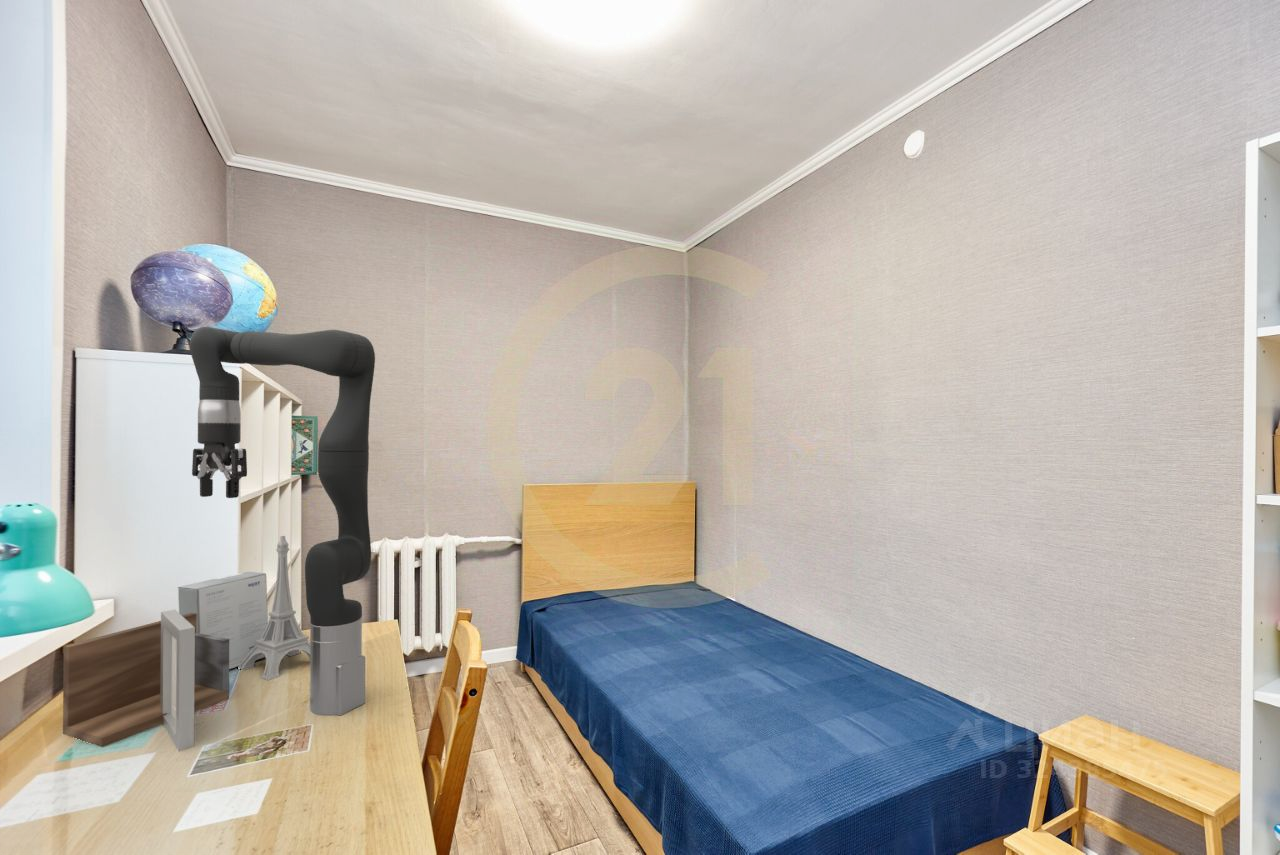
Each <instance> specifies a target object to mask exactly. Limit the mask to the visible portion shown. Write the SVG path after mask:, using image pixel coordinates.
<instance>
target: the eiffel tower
mask: <svg viewBox="0 0 1280 855" xmlns="http://www.w3.org/2000/svg"><path fill="white" fill-rule="evenodd" d="M275 551H276V552H277V571H276V581H275V589H274V597H273V603H272V608H271V612H268V616H269V618H268V624H267V626H266V628H265V630H264V632H263V634H262V636H261V638H260V639H259V640H256V641H255V642H256V645H255V647H254V648H253V649H252V650H251V651H250V653H249V654H248V655H247V656H246V657H245V659H244V660H243V661H242V662H241V663H240V665H239V666H237V667H239V668H240V669H241V670H243V671H246V670H249V669H253V668H254V666H255V665H254V664H255V662H256V661H257V660H256V659H257V658H258V657H259V656H260V655H261V654H264V655H265V657H264V658H265V668H264V672H263V674H262V675H261V677H260V679H262V680H265V681H267V682H268V681H270V680H273V679H276V678H278V677H280V678H281V675H280V674H279V673H280V672H279V669H280V663H281V662H282V659H283V658H284V657H285V656H287V655H288V657H293V656H295V655H298V654H301V653H302V652H304V653H305V654H306V655H307V657H308V658H309V659H310V640H308V639H310V638H309V636H308V635H304V633H303V631H302V629H301V627H300V626H299V623H298V621H297V619H296V616H295V614H297V613H296V612H297V611H296V610H294V609H293V602H292V595H291V590H290V588H291V587H290V580H289V568H288V552H289V551H290V548H289V543H288V542H287V540H286V536H285V535H281V536H280V538H279V541H278V543H277V545H276V549H275ZM301 651H302V652H301ZM255 660H256V661H255ZM308 663H309V664H310V660H309V661H308ZM252 667H253V668H252ZM245 669H246V670H245ZM241 670H240V671H241Z"/></svg>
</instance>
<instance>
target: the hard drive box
mask: <svg viewBox="0 0 1280 855" xmlns="http://www.w3.org/2000/svg"><path fill="white" fill-rule="evenodd" d="M267 586H268V585H267V574H266V573H265V572H256V571H244V572H240V573H235V574H231V575H226V576H220V577H215V578H213V579H212V578H211V579H208V580H207V579H206V580H204V581H199V582H194V583H190V584H185V585H181V586H178V587H177V595H178V596H177V601H178V613H179V614H180V615H185V614H189V613H196V614H197V629H196V633H200V634H205V635H210V636H216V637H221V638H226V639H229V670H231V669H234V668H236V667H238V666H239V665H240V663H241V662H242V661H243V660H244V659H245V657H246V656H247V655H248V654H249V653H250V651H251V650H252V649H253V648H254V647H255V645H256V642H255V641H256V640H259V639H260V638H261V636H262V634H263V632H264V630H265V628H266V626H267V624H268V621H269V617H268V616H269V613H268V595H267V594H268V591H267V588H268V587H267ZM263 658H266V657H265V655H264V654H261V655H260V656H259V657H258V658H257V659H256V660H255V662H256V661H257V660H260V659H263Z"/></svg>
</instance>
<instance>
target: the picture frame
mask: <svg viewBox="0 0 1280 855" xmlns="http://www.w3.org/2000/svg"><path fill="white" fill-rule="evenodd" d="M160 621H161V679H160V711H161V712H162V714H165V713H167V714H166V715H164V716H163V724H162V725H163V727H164V728H165V731H166V732H167V734H168V735H169V737H170V739H171V741H172V742H173V744H174V746H175V748H176V750H177V751H178V752H181V751H184V750H187V749H191V748H194V747H195V712H194V674H195V627H194V626H193V625H191V624H190V623H189V622H188V621H187V620H186V619H185V618H184V617H183V616H181V615H180V614H179V611H177V610H176V609H171V610H166V611H165V610H163V611H161V612H160Z"/></svg>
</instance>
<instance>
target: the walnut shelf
mask: <svg viewBox="0 0 1280 855" xmlns="http://www.w3.org/2000/svg"><path fill="white" fill-rule="evenodd" d="M181 616H183V617H184V618H185V619H186V620H187V621H188V622H189V623H190V624H191V625H193V626H194V627H195V674H194V713H196V712H197V711H201V710H203V709H205V708H208V707H211V706H213V705H216V704H218V703H221V702H224V701H227V700H229V699H230V669H229V639H226V638H221V637H216V636H210V635H205V634H200V633H196V629H197V614H196V613H189V614H185V615H181ZM62 677H63V678H62V679H63V682H62V683H63V684H62V685H63V686H62V688H63V689H62V692H63V693H62V695H63V697H62V734H64V735H66V736H68V737H71V738H73V737H74V738H73V739H75V738H77V739H76V740H78V739H80V740H82V741H81V742H83V741H85V742H88V743H91V744H92V745H95V746H99V747H101V748H104V747H106V746H109V745H112V744H114V743H116V742H120V741H123V740H125V739H128V738H130V737H133V736H135V735H138V734H141V733H143V732H146V731H149V730H151V729H153V728H156V727H159V726H160V725H161V726H162V725H163V716H164V715H166V714H167V713H165V714H162V712H161V711H160V679H161V620H159V621H155V622H151V623H148V624H147V623H146V624H143V625H140V626H136V627H135V626H134V627H131V628H127V629H123V630H119V631H116V632H113V633H109V634H105V635H104V634H103V635H100V636H97V637H92V638H88V639H85V640H81V641H78V642H77V641H76V642H74V643H70V644H67V645H66V644H65V645H63V676H62ZM80 740H79V741H80ZM85 742H84V743H85ZM88 743H87V744H88Z"/></svg>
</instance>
